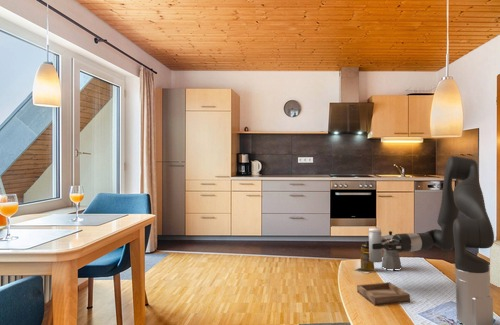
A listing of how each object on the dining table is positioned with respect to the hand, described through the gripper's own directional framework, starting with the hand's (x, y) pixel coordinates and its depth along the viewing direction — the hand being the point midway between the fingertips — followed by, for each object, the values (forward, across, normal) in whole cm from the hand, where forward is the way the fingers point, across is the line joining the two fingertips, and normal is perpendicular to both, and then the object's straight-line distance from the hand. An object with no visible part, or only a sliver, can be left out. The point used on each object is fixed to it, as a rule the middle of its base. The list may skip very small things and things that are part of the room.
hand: (369, 245), depth 149 cm
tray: (0, +10, +18) cm, 20 cm away
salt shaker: (-3, 0, +7) cm, 7 cm away
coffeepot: (-24, -23, +18) cm, 38 cm away
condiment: (-10, -23, +18) cm, 31 cm away
